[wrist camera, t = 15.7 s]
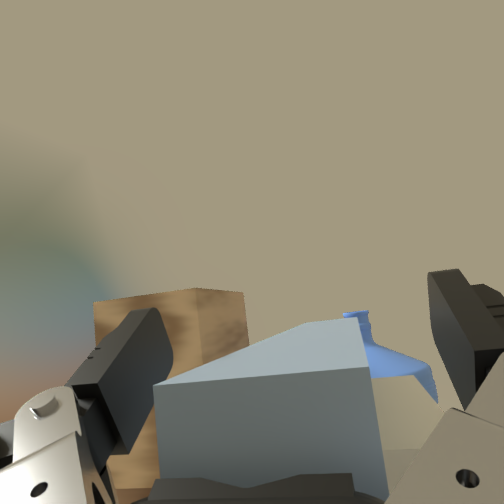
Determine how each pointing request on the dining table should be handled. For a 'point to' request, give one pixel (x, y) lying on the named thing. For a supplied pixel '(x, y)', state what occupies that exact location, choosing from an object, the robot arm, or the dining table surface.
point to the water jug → (392, 358)
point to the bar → (276, 412)
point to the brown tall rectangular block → (185, 359)
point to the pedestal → (403, 421)
